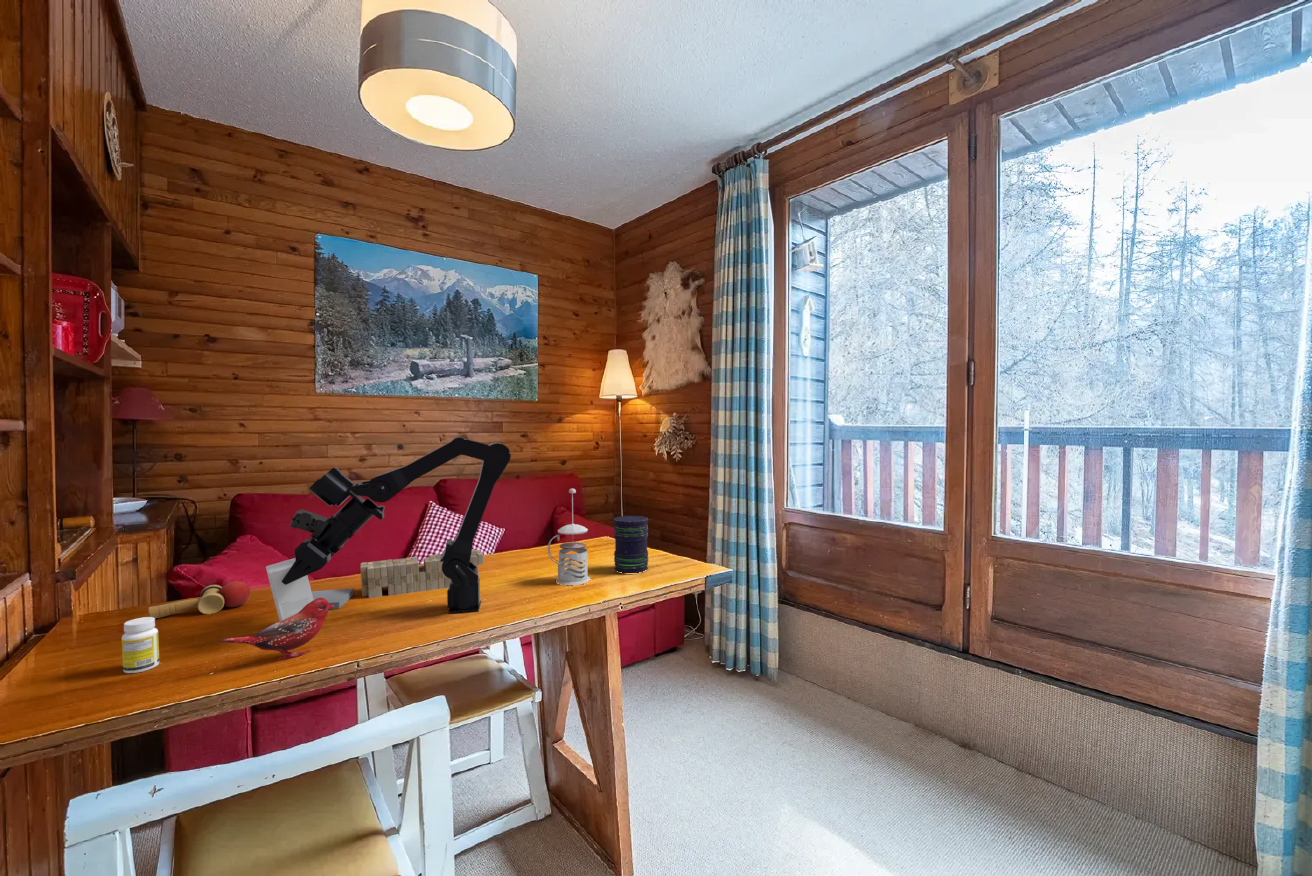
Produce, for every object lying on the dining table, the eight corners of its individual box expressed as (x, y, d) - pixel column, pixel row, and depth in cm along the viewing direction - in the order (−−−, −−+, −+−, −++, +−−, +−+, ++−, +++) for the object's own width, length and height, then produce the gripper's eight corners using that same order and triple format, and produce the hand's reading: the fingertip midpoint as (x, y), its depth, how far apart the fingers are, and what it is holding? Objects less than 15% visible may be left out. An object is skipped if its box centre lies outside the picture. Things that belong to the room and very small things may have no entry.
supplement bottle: (138, 662, 101) (136, 616, 100) (166, 661, 101) (165, 615, 101) (114, 674, 96) (113, 626, 96) (144, 673, 96) (142, 624, 96)
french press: (589, 585, 146) (588, 490, 145) (544, 586, 146) (543, 490, 145) (593, 575, 156) (592, 486, 155) (552, 575, 156) (551, 486, 155)
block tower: (362, 603, 136) (485, 583, 149) (359, 569, 136) (483, 552, 149) (362, 594, 143) (480, 576, 156) (360, 562, 143) (478, 546, 156)
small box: (320, 621, 117) (304, 562, 115) (284, 634, 113) (268, 573, 111) (313, 612, 123) (299, 555, 122) (279, 623, 119) (264, 566, 118)
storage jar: (610, 573, 158) (609, 521, 157) (618, 565, 167) (618, 515, 167) (645, 575, 156) (644, 521, 156) (651, 566, 166) (650, 515, 165)
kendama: (149, 632, 119) (252, 603, 130) (143, 602, 120) (246, 577, 130) (155, 628, 126) (252, 601, 136) (149, 600, 126) (247, 575, 136)
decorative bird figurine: (337, 648, 106) (336, 596, 106) (220, 679, 94) (218, 620, 93) (333, 644, 108) (332, 593, 108) (217, 673, 96) (216, 616, 96)
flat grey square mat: (354, 594, 140) (353, 588, 140) (339, 608, 129) (339, 602, 129) (305, 597, 138) (305, 591, 138) (285, 612, 127) (285, 605, 127)
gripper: (326, 491, 127) (271, 543, 124) (305, 501, 110) (240, 563, 106) (366, 523, 130) (313, 575, 127) (351, 538, 113) (289, 599, 109)
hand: (290, 577), depth 117 cm, fingers closed on small box, 9 cm apart
